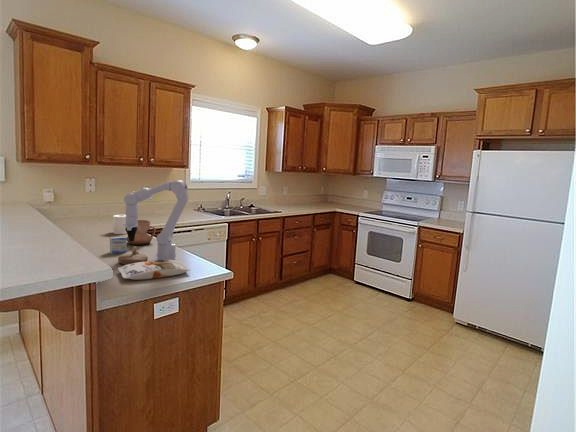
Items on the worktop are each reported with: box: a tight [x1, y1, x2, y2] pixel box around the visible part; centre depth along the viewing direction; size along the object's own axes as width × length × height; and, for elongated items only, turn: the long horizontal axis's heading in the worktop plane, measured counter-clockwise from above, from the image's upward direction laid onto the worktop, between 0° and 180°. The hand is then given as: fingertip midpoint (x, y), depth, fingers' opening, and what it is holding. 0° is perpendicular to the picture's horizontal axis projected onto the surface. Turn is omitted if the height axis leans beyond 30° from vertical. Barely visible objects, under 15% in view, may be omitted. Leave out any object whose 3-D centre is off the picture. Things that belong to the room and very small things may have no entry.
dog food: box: [117, 259, 191, 280], centre depth 168 cm, size 30×18×5 cm, turn 125°
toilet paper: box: [112, 214, 128, 235], centre depth 245 cm, size 10×10×12 cm
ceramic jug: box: [125, 219, 157, 246], centre depth 220 cm, size 18×14×14 cm
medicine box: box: [109, 236, 127, 255], centre depth 198 cm, size 8×4×9 cm, turn 126°
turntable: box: [117, 246, 149, 265], centre depth 182 cm, size 14×14×6 cm
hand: (131, 241), depth 188 cm, fingers closed
